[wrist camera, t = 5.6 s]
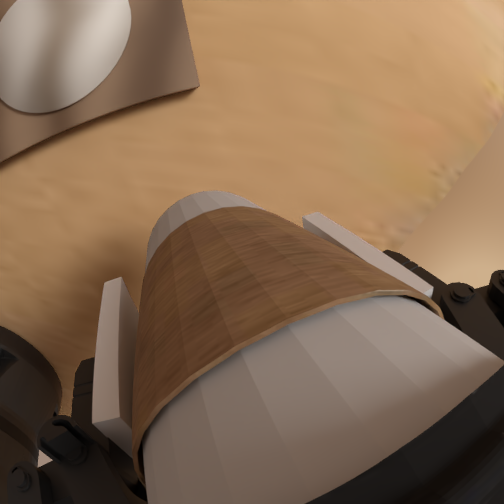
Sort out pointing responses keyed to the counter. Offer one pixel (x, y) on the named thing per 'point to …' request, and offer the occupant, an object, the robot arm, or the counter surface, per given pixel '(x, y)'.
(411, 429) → the coffee cup
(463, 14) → the counter surface
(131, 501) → the robot arm
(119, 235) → the counter surface
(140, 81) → the board
